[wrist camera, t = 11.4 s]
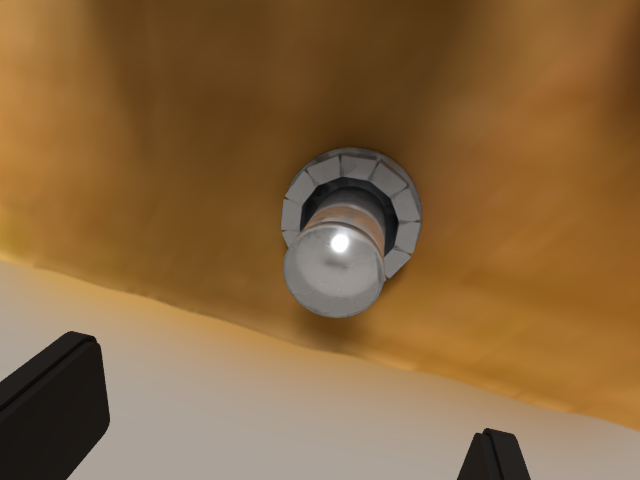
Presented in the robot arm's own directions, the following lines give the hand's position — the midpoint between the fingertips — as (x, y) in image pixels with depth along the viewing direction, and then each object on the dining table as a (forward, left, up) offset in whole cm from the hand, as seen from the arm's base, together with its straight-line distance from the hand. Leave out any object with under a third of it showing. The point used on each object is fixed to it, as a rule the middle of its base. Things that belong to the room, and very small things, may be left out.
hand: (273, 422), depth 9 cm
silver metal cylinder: (0, 0, -17) cm, 17 cm away
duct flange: (0, 0, -18) cm, 18 cm away
